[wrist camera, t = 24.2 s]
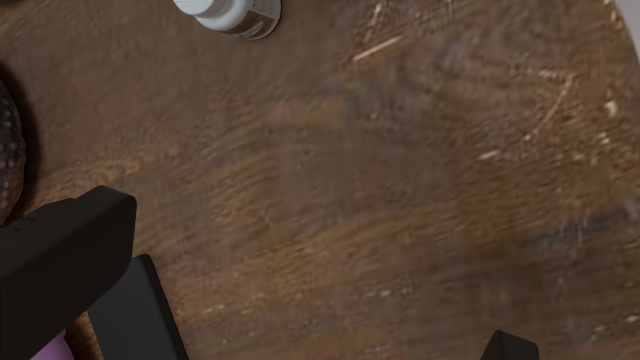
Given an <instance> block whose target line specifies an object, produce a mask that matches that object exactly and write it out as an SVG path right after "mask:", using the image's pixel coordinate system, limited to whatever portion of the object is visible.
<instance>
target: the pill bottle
mask: <svg viewBox="0 0 640 360" xmlns="http://www.w3.org/2000/svg"><path fill="white" fill-rule="evenodd" d="M174 2H175V4H176V5H177V7H178V8H179V9H180V10H182V11H183V12H185V13H187V14H190V15H192V16H195V18H196V19H197V20H198V21H199V22H200V23H201V24H202V25H204V26H205V27H207V28H210V29H213V30H216V31H220V32H223V33H227V34H231V35H234V36H238V37H241V38H245V39H250V40H255V39H260V38H262V37H265V36H266V35H268V34H269V33H270V32H271V31H272V30H273V29H274V28H275V26H276V24H277V22H278V20H279V18H280V13H281V2H280V0H174Z"/></svg>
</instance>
